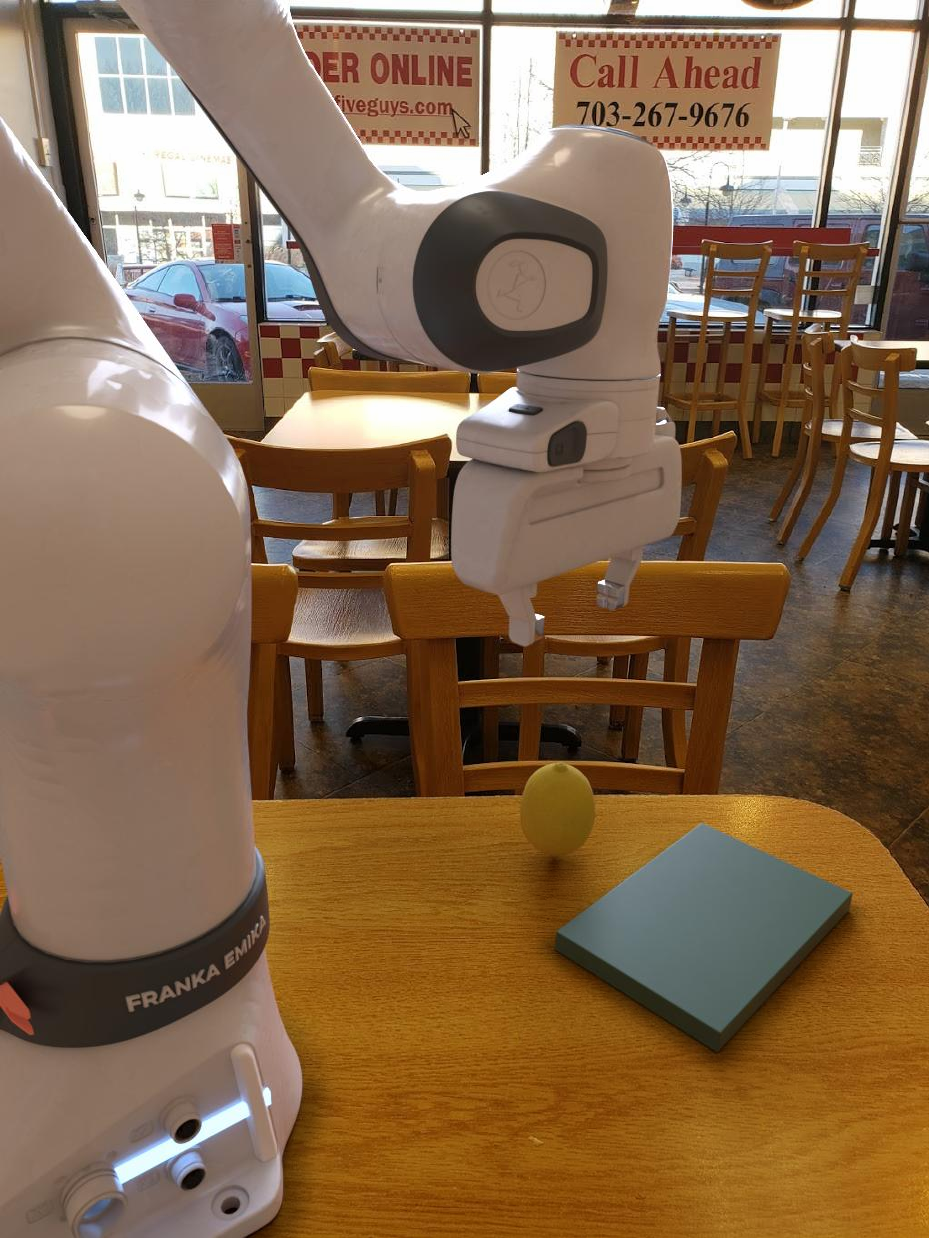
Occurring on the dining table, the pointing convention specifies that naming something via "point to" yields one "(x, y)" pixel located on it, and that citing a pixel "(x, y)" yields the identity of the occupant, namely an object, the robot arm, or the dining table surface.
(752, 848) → the cutting board
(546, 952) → the dining table surface
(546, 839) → the lemon
